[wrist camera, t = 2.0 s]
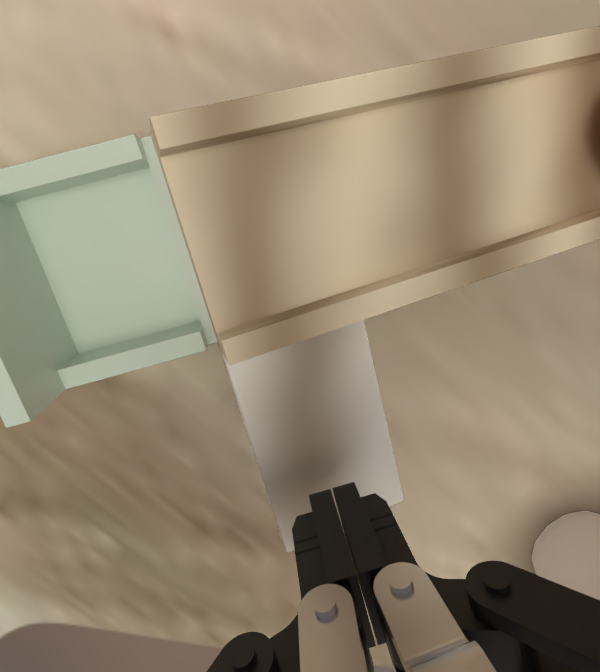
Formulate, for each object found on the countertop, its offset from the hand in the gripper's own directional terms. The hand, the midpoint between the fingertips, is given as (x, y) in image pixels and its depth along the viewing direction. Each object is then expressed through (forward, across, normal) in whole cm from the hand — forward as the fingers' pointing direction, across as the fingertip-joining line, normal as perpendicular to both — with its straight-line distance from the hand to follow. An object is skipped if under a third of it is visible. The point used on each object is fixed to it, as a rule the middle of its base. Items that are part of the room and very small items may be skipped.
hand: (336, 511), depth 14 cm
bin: (+13, +7, -9) cm, 17 cm away
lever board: (+7, -7, -5) cm, 11 cm away
